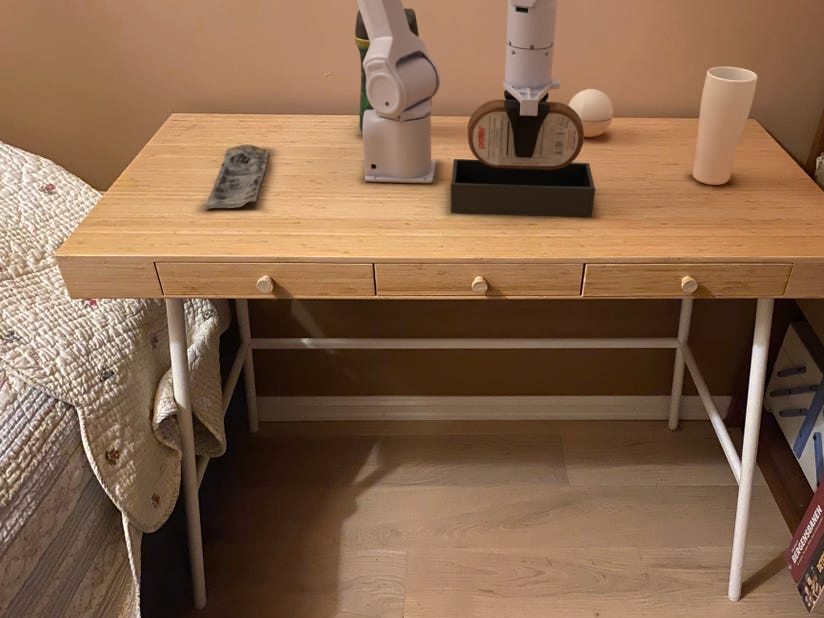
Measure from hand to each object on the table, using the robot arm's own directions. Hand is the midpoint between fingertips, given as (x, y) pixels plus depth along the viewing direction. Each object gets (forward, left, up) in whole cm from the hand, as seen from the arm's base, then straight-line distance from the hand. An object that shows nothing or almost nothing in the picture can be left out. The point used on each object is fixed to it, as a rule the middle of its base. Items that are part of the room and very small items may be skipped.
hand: (523, 152), depth 103 cm
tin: (0, 0, -2) cm, 2 cm away
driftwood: (-39, +5, -7) cm, 40 cm away
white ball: (+13, +26, -7) cm, 29 cm away
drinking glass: (+28, +10, -7) cm, 30 cm away
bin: (0, 0, -7) cm, 7 cm away
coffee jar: (-20, +25, -7) cm, 33 cm away
